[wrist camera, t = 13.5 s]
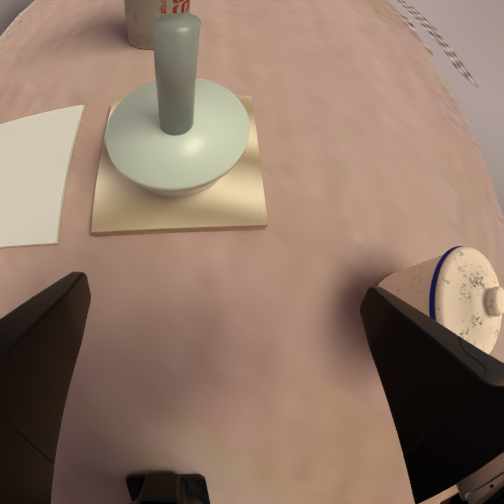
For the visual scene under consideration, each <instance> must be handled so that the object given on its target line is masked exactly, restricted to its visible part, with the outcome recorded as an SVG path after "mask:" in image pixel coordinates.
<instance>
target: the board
mask: <svg viewBox="0 0 504 504" xmlns="http://www.w3.org/2000/svg"><path fill="white" fill-rule="evenodd" d="M235 96H236V97H237V98H238V99H239V100H240V102H241V103H242V104H243V106H244V108H245V110H246V112H247V114H248V118H249V123H250V133H249V139H248V142H247V145H246V148H245V151H244V153H243V155H242V157H241V159H240V160H239V161H238V163H237V164H236V165H235V167H234V168H232V169H231V170H230V171H229V172H228V173H227V174H226V175H224V176H223V177H222V178H220V179H219V180H218V181H217V182H216V183H215V184H214V185H212V186H211V187H210V188H208V189H206V190H205V191H203V192H200V193H198V194H195V195H192V196H188V197H181V198H168V197H162V196H158V195H155V194H152V193H150V192H148V191H146V190H145V189H143V188H142V187H140V186H138V185H136V184H134V183H132V182H130V181H129V180H127V179H126V178H125V177H124V176H123V175H121V174H120V173H119V171H118V170H117V169H116V168H115V166H114V164H113V163H112V161H111V159H110V156H109V154H108V151H107V148H106V142H105V136H104V141H103V146H102V151H101V157H100V162H99V168H98V175H97V182H96V189H95V197H94V206H93V215H92V227H91V233H92V234H93V235H94V236H108V235H126V234H146V233H168V232H193V231H221V230H255V229H265V228H266V227H267V225H268V224H267V215H266V206H265V198H264V190H263V181H262V173H261V165H260V157H259V149H258V141H257V133H256V126H255V118H254V111H253V103H252V96H243V95H235ZM122 100H123V99H115V100H113V102H112V105H111V109H110V114H109V118H110V116H111V114H112V113H113V111H114V110H115V108H116V107H117V105H118V104H119V103H120V102H121V101H122ZM109 118H108V121H109ZM107 124H108V122H107ZM105 133H106V131H105Z"/></svg>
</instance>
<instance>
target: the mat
mask: <svg viewBox="0 0 504 504" xmlns="http://www.w3.org/2000/svg"><path fill="white" fill-rule="evenodd" d="M84 109H85V105H79V106H73V107H68V108H63V109H58V110H53V111H49V112H44V113H40V114H36V115H32V116H28V117H24V118H20V119H17V120H13V121H10V122H6V123H3V124H0V248H10V247H24V246H39V245H55V244H58V243H59V233H60V223H61V215H62V208H63V201H64V195H65V189H66V183H67V178H68V173H69V168H70V163H71V158H72V154H73V150H74V145H75V141H76V137H77V134H78V130H79V126H80V123H81V119H82V116H83V113H84Z"/></svg>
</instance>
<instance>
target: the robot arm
mask: <svg viewBox="0 0 504 504" xmlns="http://www.w3.org/2000/svg"><path fill="white" fill-rule="evenodd" d="M90 301H91V294H90V290H89V285H88V280H87V276H86V274H85V273H84V272H72V273H70V274H68V275H67V276H65V277H64V278H62V279H60V280H59V281H57V282H56V283H54V284H52V285H51V286H49V287H48V288H46V289H44V290H43V291H41V292H40V293H38V294H37V295H35V296H34V297H32V298H31V299H29V300H28V301H26V302H25V303H23V304H22V305H20V306H19V307H17V308H16V309H14V310H13V311H11V312H10V313H9V314H7V315H6V316H4V317H3V318H1V319H0V504H51V491H52V481H53V472H54V463H55V455H56V449H57V443H58V437H59V431H60V426H61V421H62V416H63V411H64V407H65V402H66V398H67V394H68V390H69V386H70V382H71V378H72V374H73V371H74V367H75V364H76V360H77V357H78V353H79V350H80V346H81V343H82V338H83V333H84V328H85V324H86V319H87V314H88V310H89V306H90ZM360 314H361V317H362V321H363V325H364V328H365V332H366V336H367V340H368V344H369V348H370V351H371V354H372V357H373V360H374V362H375V365H376V368H377V371H378V374H379V377H380V380H381V383H382V386H383V389H384V392H385V395H386V398H387V401H388V404H389V407H390V411H391V414H392V417H393V420H394V424H395V427H396V431H397V434H398V437H399V441H400V445H401V448H402V452H403V453H404V454H403V456H404V460H405V464H406V468H407V472H408V476H409V480H410V484H411V489H412V493H413V497H414V501H415V504H419V503H421V502H423V501H425V500H427V499H429V498H431V497H433V496H435V495H437V494H439V493H441V492H443V491H445V490H446V489H448V488H450V487H452V486H453V485H455V484H456V487H457V489H458V492H457V493H455V494H454V495H452V496H450V497H449V498H447V499H445V500H444V501H442V502H441V503H440V504H504V363H502V362H501V361H499V360H497V359H496V358H494V357H492V356H490V355H489V354H487V353H485V352H484V351H482V350H480V349H479V348H477V347H475V346H474V345H472V344H471V343H469V342H468V341H466V340H464V339H463V338H461V337H460V336H457V334H455V333H454V332H452V331H451V330H449V329H447V328H446V327H444V326H443V325H441V324H440V323H438V322H437V321H435V320H433V319H432V318H430V317H429V316H427V315H425V314H424V313H422V312H421V311H419V310H418V309H416V308H414V307H413V306H411V305H409V304H408V303H406V302H405V301H403V300H401V299H400V298H398V297H397V296H395V295H393V294H392V293H390V292H388V291H387V290H385V289H383V288H382V287H369V288H368V289H367V291H366V294H365V296H364V299H363V301H362V303H361V306H360ZM130 479H133V480H134V481H135V482H132V481H130ZM198 479H200V480H202V481H201V482H198V481H196V480H198ZM126 483H127V486H128V490H129V493H130V496H131V499H132V503H130V504H210V500H209V495H208V490H207V485H206V480H205V477H204V476H202V475H184V476H179V475H177V474H148V475H128V476H127V478H126Z"/></svg>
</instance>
